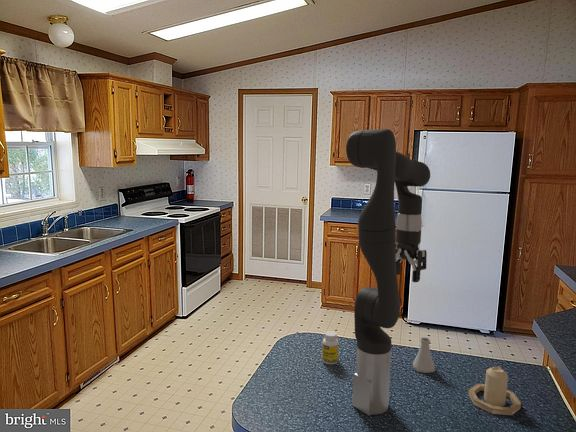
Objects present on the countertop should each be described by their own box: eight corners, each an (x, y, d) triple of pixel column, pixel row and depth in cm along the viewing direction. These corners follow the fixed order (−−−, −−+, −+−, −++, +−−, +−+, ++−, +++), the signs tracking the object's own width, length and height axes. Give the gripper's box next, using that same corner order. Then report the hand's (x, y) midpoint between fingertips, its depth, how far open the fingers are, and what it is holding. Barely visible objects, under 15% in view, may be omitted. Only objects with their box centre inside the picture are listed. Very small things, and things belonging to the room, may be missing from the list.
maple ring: (505, 420, 112) (506, 415, 111) (461, 398, 121) (462, 393, 121) (526, 403, 119) (527, 398, 119) (483, 384, 129) (483, 379, 128)
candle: (486, 393, 124) (489, 361, 122) (507, 400, 120) (510, 368, 119) (481, 402, 120) (484, 369, 118) (502, 409, 116) (505, 376, 115)
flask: (438, 374, 134) (440, 344, 133) (415, 373, 134) (417, 344, 133) (431, 362, 142) (433, 334, 140) (409, 362, 142) (411, 334, 140)
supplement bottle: (320, 363, 140) (320, 335, 139) (323, 355, 146) (324, 329, 144) (336, 366, 139) (337, 337, 137) (339, 358, 144) (340, 331, 142)
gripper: (384, 224, 136) (382, 273, 139) (415, 232, 124) (412, 286, 126) (402, 223, 139) (400, 270, 142) (434, 230, 127) (431, 282, 129)
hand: (406, 278), depth 134 cm, fingers open, 8 cm apart
